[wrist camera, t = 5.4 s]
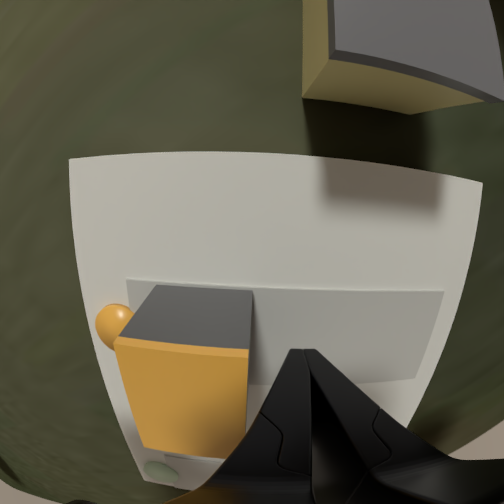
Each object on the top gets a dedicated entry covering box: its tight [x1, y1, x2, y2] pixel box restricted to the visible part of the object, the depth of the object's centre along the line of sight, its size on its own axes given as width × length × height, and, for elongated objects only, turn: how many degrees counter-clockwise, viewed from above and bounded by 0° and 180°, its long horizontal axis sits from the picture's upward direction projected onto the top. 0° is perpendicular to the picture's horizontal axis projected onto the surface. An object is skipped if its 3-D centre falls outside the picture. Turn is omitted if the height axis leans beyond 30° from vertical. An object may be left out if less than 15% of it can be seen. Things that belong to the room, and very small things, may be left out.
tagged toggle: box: [113, 285, 253, 459], centre depth 8 cm, size 3×4×3 cm
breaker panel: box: [69, 152, 483, 491], centre depth 12 cm, size 14×18×2 cm
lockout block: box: [302, 0, 504, 115], centre depth 6 cm, size 4×4×5 cm
